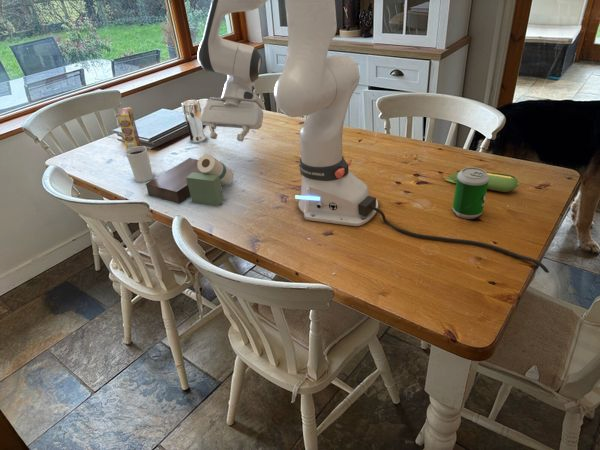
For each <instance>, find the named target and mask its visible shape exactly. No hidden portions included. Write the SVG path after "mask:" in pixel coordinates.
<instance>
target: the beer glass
mask: <svg viewBox="0 0 600 450" xmlns="http://www.w3.org/2000/svg"><path fill="white" fill-rule="evenodd" d="M181 109H182V114H183V119H184V122H185V124H186V127H187V129H188V132H189V141H190V142H191V143H193V144H198V143H203V142H204V141H206V140H207V138H206V135H205V132H204V124H203V123H202V121H201V119H200V117H201V114H202V111H203V110H202V107H201V103H200V100H198V99H187V100H184V101H182V102H181Z"/></svg>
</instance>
